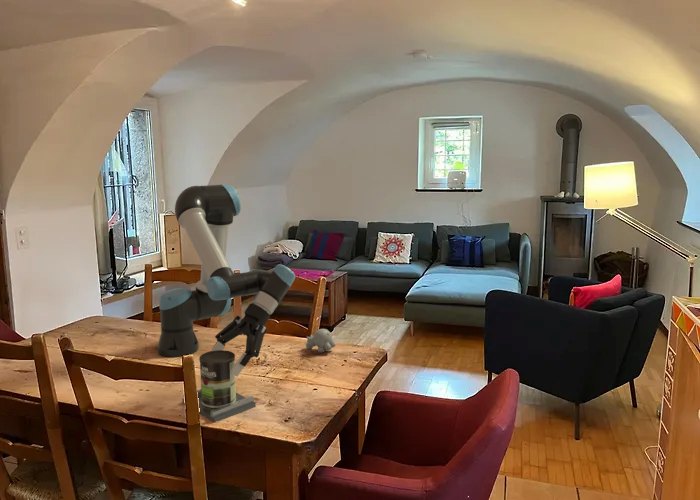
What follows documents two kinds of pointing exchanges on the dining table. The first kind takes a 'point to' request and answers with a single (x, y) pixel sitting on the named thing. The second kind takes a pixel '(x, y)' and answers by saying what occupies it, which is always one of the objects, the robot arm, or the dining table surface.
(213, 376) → the coffee can
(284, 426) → the dining table surface
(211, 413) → the plate
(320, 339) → the round bodied animal figurine
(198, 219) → the robot arm
